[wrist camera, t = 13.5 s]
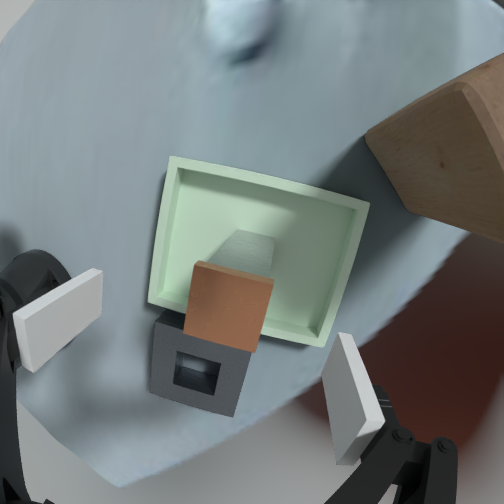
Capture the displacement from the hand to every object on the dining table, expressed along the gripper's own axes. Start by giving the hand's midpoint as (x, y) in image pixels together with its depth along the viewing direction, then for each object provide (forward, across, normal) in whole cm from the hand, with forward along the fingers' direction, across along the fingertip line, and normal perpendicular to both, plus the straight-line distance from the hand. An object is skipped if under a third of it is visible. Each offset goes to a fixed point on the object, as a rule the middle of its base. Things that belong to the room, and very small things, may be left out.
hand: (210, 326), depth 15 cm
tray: (+18, +1, 0) cm, 18 cm away
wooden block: (+18, +16, +15) cm, 28 cm away
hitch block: (+18, -2, -15) cm, 24 cm away
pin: (+17, +1, 0) cm, 17 cm away
